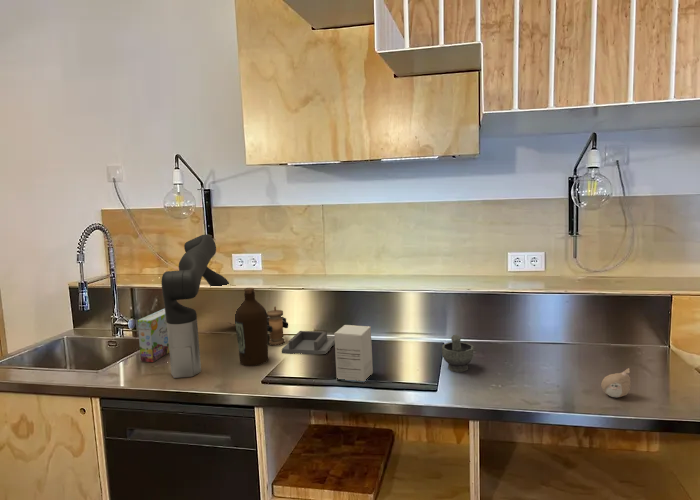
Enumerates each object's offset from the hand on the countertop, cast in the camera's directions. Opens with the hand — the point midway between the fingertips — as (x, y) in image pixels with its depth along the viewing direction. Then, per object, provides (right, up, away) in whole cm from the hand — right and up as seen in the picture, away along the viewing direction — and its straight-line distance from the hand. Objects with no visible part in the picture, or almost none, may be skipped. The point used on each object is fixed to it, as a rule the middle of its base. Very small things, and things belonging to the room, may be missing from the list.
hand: (279, 327), depth 188 cm
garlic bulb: (+96, -10, -54) cm, 110 cm away
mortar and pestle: (+59, -8, -31) cm, 67 cm away
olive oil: (-6, -9, -16) cm, 19 cm away
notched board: (+11, -7, -4) cm, 14 cm away
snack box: (-42, -9, -2) cm, 43 cm away
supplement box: (+27, -10, -34) cm, 44 cm away
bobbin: (-1, -6, +3) cm, 7 cm away
